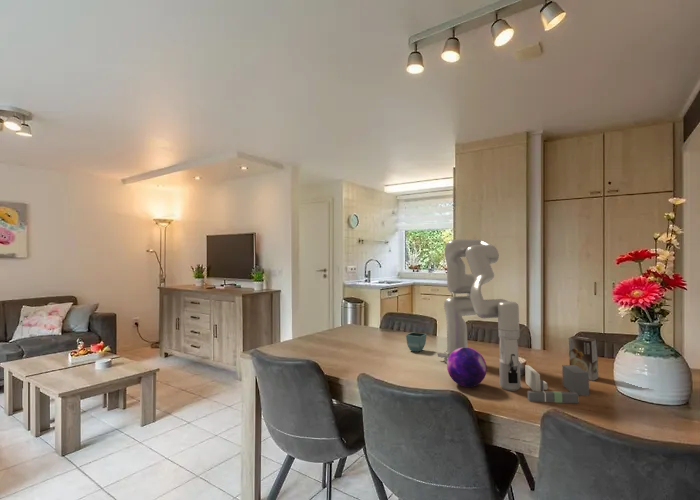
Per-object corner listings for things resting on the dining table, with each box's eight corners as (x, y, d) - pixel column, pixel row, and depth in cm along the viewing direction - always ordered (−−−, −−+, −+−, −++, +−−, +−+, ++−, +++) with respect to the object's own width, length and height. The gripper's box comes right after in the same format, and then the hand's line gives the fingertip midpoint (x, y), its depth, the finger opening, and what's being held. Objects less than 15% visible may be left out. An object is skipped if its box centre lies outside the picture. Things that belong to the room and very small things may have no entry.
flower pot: (427, 349, 204) (426, 333, 204) (421, 353, 197) (420, 336, 197) (412, 348, 209) (411, 332, 209) (405, 351, 201) (405, 334, 202)
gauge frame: (529, 401, 130) (528, 378, 130) (514, 383, 148) (513, 363, 148) (600, 404, 127) (600, 380, 127) (576, 385, 144) (575, 365, 145)
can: (523, 392, 139) (522, 359, 139) (501, 390, 140) (501, 359, 141) (518, 385, 146) (517, 354, 146) (498, 384, 148) (497, 354, 148)
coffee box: (599, 377, 153) (598, 339, 154) (593, 381, 150) (592, 341, 150) (575, 372, 161) (574, 335, 161) (568, 375, 157) (567, 337, 157)
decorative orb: (452, 377, 157) (452, 342, 157) (490, 383, 149) (489, 345, 150) (442, 388, 144) (441, 349, 144) (482, 395, 136) (481, 354, 137)
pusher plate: (540, 398, 132) (539, 378, 132) (525, 382, 148) (525, 365, 148) (556, 398, 131) (556, 378, 131) (540, 383, 147) (539, 365, 148)
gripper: (493, 329, 153) (494, 372, 153) (504, 338, 136) (505, 386, 135) (512, 329, 152) (513, 372, 151) (526, 338, 135) (527, 387, 134)
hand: (509, 379), depth 143 cm, fingers closed on can, 7 cm apart
